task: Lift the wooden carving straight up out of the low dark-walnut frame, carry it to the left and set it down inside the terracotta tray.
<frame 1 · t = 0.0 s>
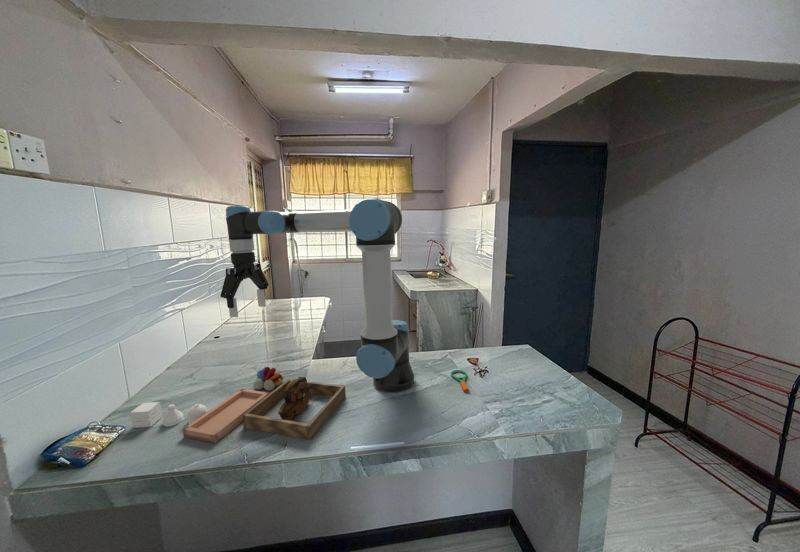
hand: (248, 311, 111), 28 cm above the worktop, fingers open, 13 cm apart
wooden carving: (298, 411, 98), resting in frame
tray: (230, 416, 96), on the worktop
magnifying glass: (461, 383, 114), on the worktop
frame: (298, 411, 98), on the worktop
rainbow ball cluster: (269, 386, 114), on the worktop
container set: (174, 422, 94), on the worktop
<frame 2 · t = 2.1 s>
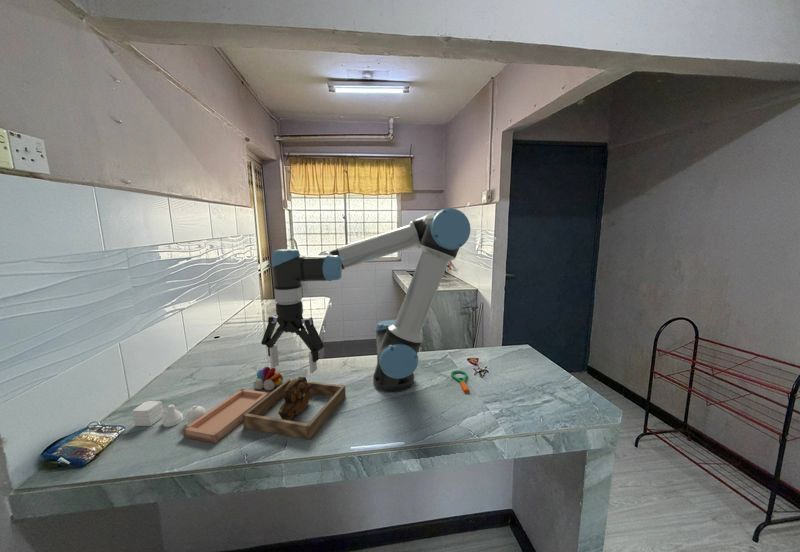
hand: (293, 368, 96), 14 cm above the worktop, fingers open, 13 cm apart
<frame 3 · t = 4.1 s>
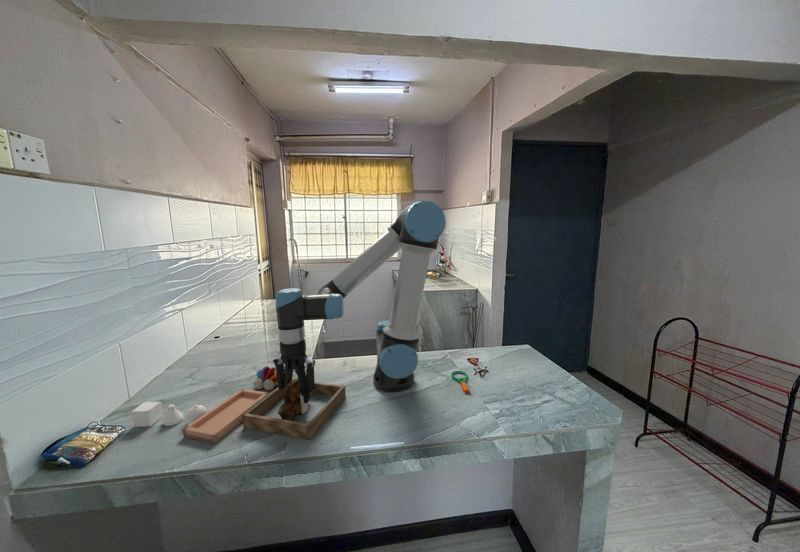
hand: (298, 410, 98), 0 cm above the worktop, fingers closed on wooden carving, 4 cm apart
wooden carving: (298, 411, 98), resting in frame, touching gripper
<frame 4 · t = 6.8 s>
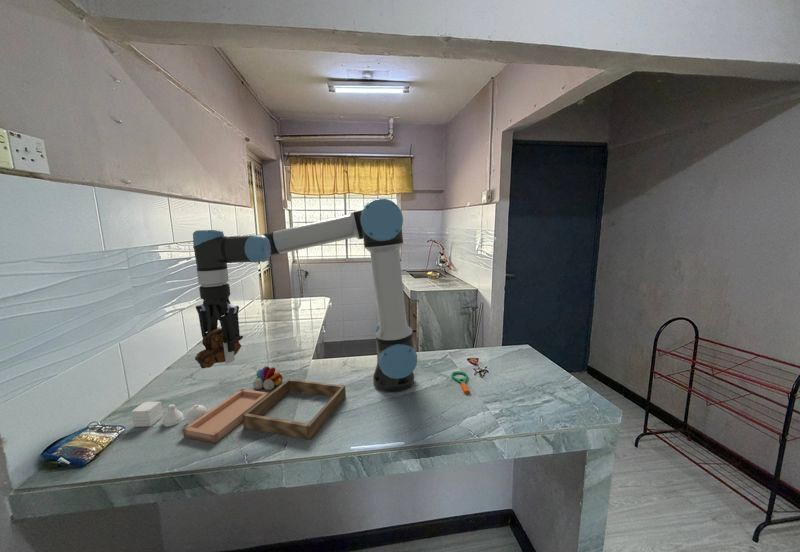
hand: (223, 360, 93), 18 cm above the worktop, fingers closed on wooden carving, 4 cm apart
wooden carving: (224, 362, 93), point 18 cm above the worktop, touching gripper
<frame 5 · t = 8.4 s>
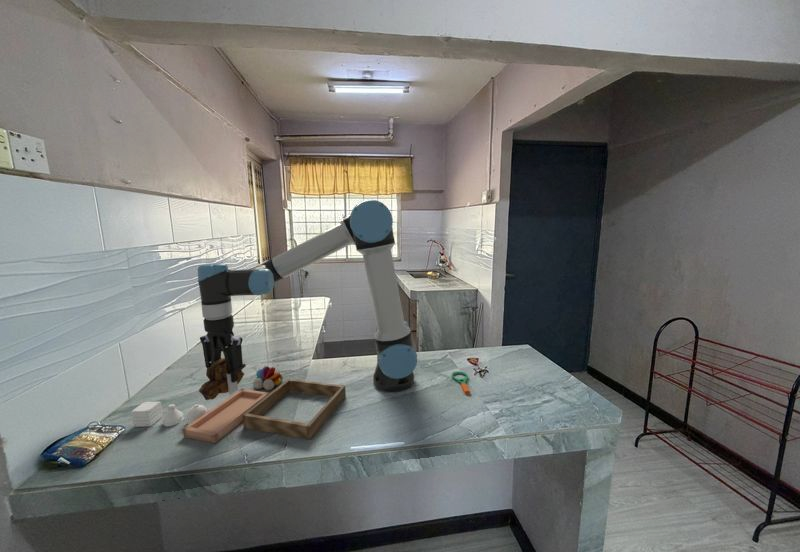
hand: (227, 390, 94), 9 cm above the worktop, fingers closed on wooden carving, 4 cm apart
wooden carving: (227, 391, 95), point 8 cm above the worktop, touching gripper
when the fingers open (3 cm above the worktop, at t = 9.8 s): wooden carving drops 2 cm, resting on tray.
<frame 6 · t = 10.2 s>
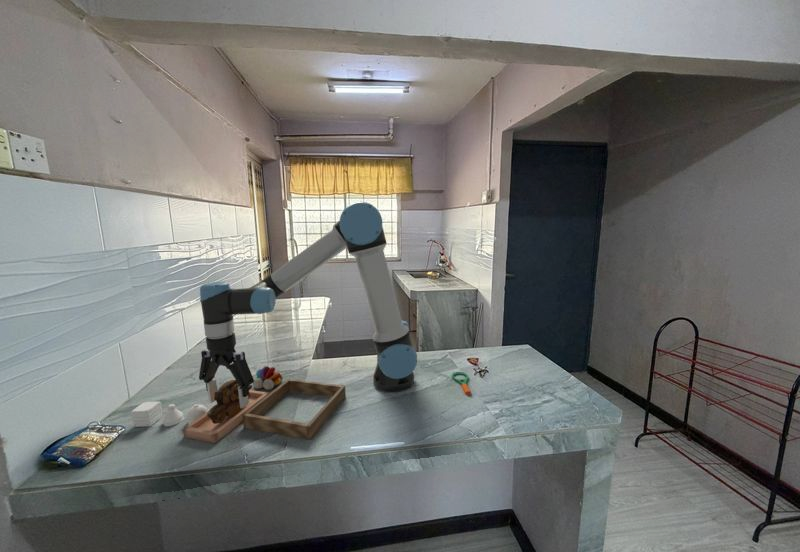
hand: (229, 403, 95), 4 cm above the worktop, fingers open, 11 cm apart
wooden carving: (234, 413, 96), point 1 cm above the worktop, touching tray
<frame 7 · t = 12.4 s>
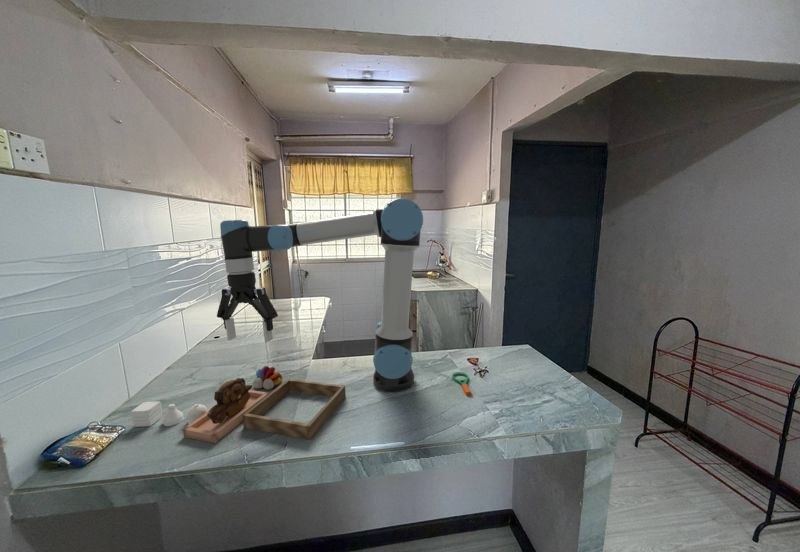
hand: (250, 339, 97), 23 cm above the worktop, fingers open, 13 cm apart
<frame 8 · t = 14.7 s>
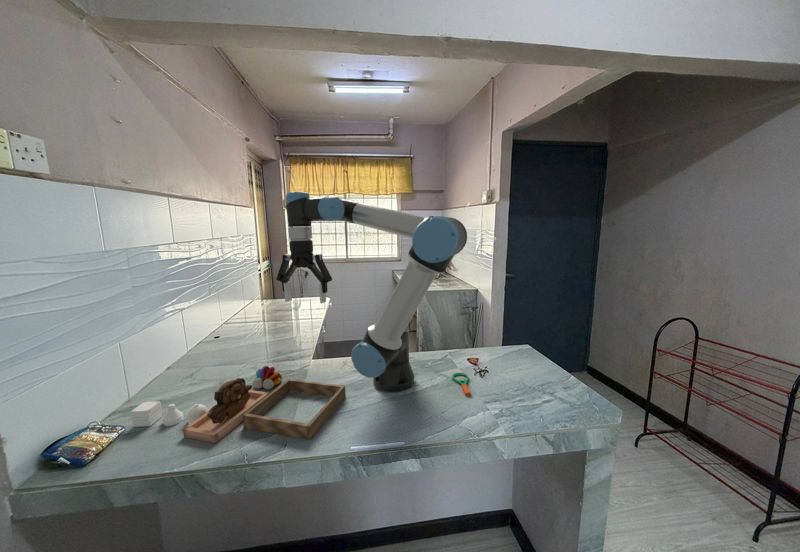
hand: (305, 301, 108), 32 cm above the worktop, fingers open, 13 cm apart
at the end: wooden carving inside the target area on the tray (1.1 cm from its centre), point 0.8 cm above the tray's base; the gripper is holding nothing; wooden carving moved 19.3 cm from its start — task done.
